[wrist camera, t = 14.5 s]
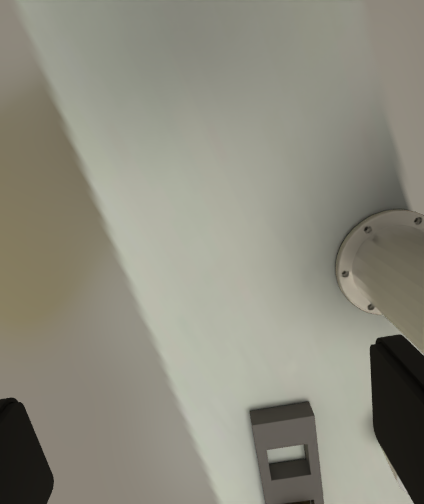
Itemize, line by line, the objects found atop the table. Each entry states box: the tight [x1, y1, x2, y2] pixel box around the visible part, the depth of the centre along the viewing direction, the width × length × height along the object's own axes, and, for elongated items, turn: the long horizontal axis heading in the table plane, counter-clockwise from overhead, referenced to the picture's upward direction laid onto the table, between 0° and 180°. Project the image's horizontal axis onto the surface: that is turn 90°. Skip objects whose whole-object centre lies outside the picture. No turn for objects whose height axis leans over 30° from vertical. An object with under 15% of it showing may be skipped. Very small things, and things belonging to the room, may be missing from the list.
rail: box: [250, 402, 324, 504], centre depth 49 cm, size 8×24×2 cm, turn 10°
